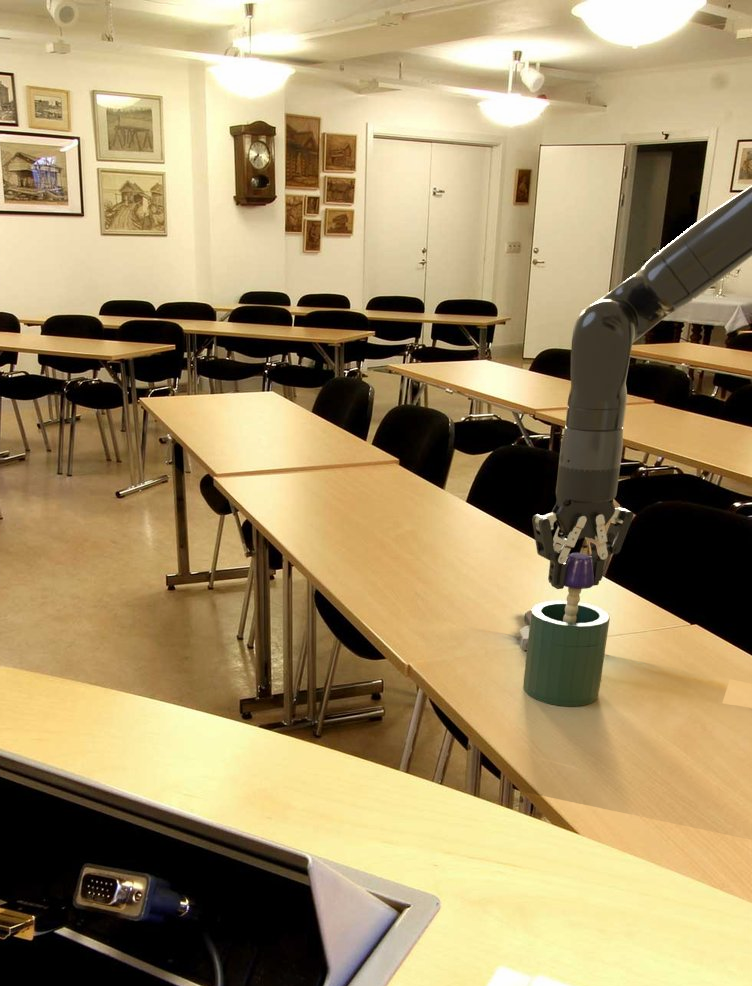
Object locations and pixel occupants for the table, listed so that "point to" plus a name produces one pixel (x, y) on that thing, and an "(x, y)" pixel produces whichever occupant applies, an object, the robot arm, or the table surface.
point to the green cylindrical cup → (565, 654)
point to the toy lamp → (577, 582)
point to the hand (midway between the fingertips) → (574, 585)
